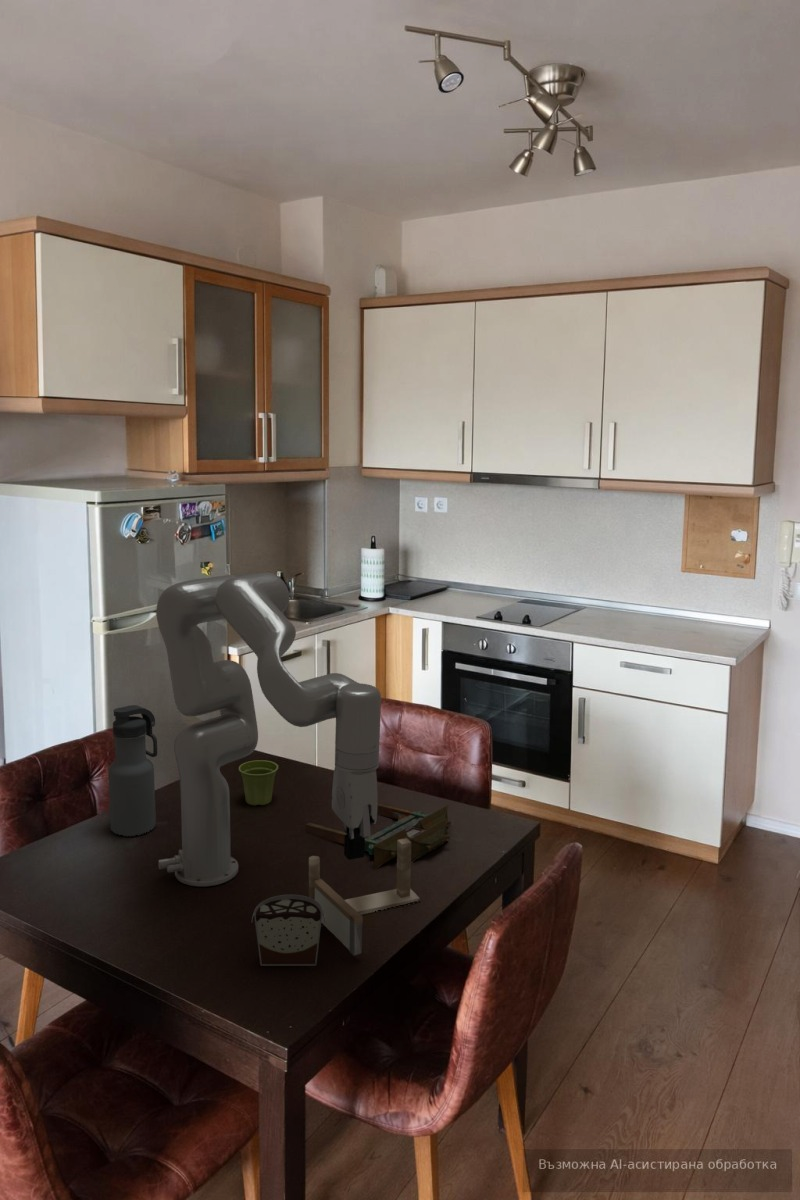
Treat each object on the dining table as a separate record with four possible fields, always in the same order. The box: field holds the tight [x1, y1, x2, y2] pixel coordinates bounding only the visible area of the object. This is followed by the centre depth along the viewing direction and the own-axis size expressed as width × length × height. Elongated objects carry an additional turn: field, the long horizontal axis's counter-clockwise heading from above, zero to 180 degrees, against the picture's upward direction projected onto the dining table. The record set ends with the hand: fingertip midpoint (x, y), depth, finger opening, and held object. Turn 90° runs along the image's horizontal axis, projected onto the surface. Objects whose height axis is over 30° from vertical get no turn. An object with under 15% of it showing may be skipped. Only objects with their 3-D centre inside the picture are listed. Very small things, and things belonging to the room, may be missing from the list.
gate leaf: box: [313, 878, 364, 957], centre depth 162 cm, size 15×2×7 cm, turn 32°
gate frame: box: [308, 838, 421, 925], centre depth 173 cm, size 24×5×12 cm, turn 115°
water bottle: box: [107, 704, 158, 837], centre depth 204 cm, size 10×10×28 cm
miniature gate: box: [305, 802, 452, 869], centre depth 205 cm, size 27×6×30 cm
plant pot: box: [238, 759, 279, 806], centre depth 222 cm, size 9×9×9 cm
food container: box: [250, 894, 325, 967], centre depth 157 cm, size 12×6×10 cm, turn 92°
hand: (354, 856), depth 160 cm, fingers closed
